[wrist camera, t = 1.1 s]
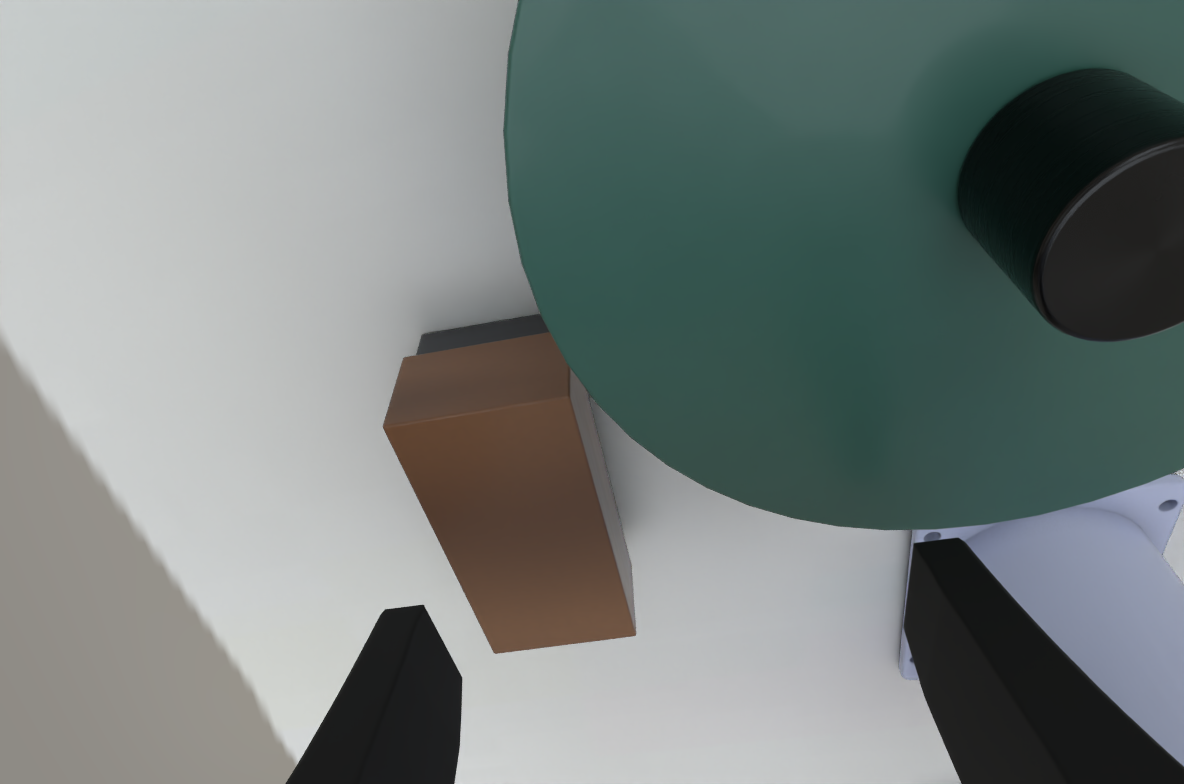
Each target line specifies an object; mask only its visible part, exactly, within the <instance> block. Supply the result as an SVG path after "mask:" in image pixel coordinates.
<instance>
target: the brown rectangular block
mask: <svg viewBox="0 0 1184 784" xmlns="http://www.w3.org/2000/svg"><path fill="white" fill-rule="evenodd" d="M383 429H384V431H385V433H386V435H387V437H388V439H389V441H390V443H391V445H392V447H393V449H394V451H395V453H396V455H397V457H398V459H399V461H400V463H401V465H402V467H403V469H404V471H405V473H406V475H407V477H408V479H409V481H410V483H411V485H412V488H413V490H414V492H415V494H416V496H417V498H418V500H419V502H420V504H421V506H422V508H423V510H424V512H425V514H426V516H427V518H428V520H429V522H430V524H431V526H432V528H433V530H434V532H435V534H436V536H437V538H438V540H439V542H440V544H441V546H442V548H443V550H444V552H445V555H446V557H447V559H448V561H449V563H450V565H451V567H452V569H453V571H454V573H455V575H456V577H457V579H458V581H459V583H460V585H461V587H462V589H463V591H464V593H465V595H466V597H467V599H468V601H469V603H470V605H471V607H472V609H473V611H474V613H475V615H476V617H477V619H478V622H479V624H480V626H481V628H482V630H483V632H484V634H485V636H486V638H487V640H488V642H489V644H490V646H491V648H492V650H493V652H494V653H495V654H498V653H505V652H513V651H521V650H529V649H537V648H545V647H553V646H560V645H568V644H576V643H584V642H592V641H600V640H608V639H615V638H623V637H631V636H636V622H635V607H634V593H633V579H632V564H631V560H630V556H629V552H628V549H627V545H626V541H625V537H624V533H623V529H622V525H621V521H620V518H619V514H618V510H617V506H616V502H615V498H614V494H613V491H612V487H611V483H610V479H609V475H608V471H607V467H606V463H605V460H604V456H603V452H602V448H601V444H600V440H599V436H598V433H597V429H596V425H595V421H594V417H593V413H592V409H591V405H590V402H589V398H588V394H587V390H586V388H585V387H584V386H583V384H582V383H581V382H580V380H579V379H578V378H577V376H576V375H575V374H574V372H573V371H572V370H571V368H570V367H569V366H568V364H567V363H566V361H565V359H564V357H563V356H562V354H561V352H560V350H559V348H558V346H557V344H556V343H555V341H554V339H553V337H552V335H551V333H550V332H549V330H548V328H547V326H546V324H545V322H544V320H543V319H542V317H541V314H537V315H532V316H526V317H520V318H515V319H509V320H503V321H498V322H492V323H486V324H481V325H475V326H469V327H464V328H458V329H452V330H447V331H441V332H435V333H430V334H424V335H422V336H421V339H420V343H419V347H418V350H417V354H416V355H415V356H409V357H404V358H403V360H402V364H401V367H400V370H399V374H398V377H397V380H396V384H395V387H394V391H393V394H392V397H391V401H390V404H389V407H388V411H387V414H386V417H385V421H384V424H383Z"/></svg>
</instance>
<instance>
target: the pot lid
mask: <svg viewBox="0 0 1184 784" xmlns="http://www.w3.org/2000/svg"><path fill="white" fill-rule="evenodd" d="M503 133H504V147H505V161H506V175H507V189H508V202H509V206H510V211H511V216H512V220H513V225H514V230H515V235H516V239H517V244H518V249H519V253H520V258H521V263H522V265H523V268H524V271H525V273H526V276H527V279H528V282H529V284H530V287H531V290H532V293H533V295H534V298H535V301H536V303H537V306H538V309H539V312H540V314H541V317H542V319H543V320H544V322H545V324H546V326H547V328H548V330H549V332H550V333H551V335H552V337H553V339H554V341H555V343H556V344H557V346H558V348H559V350H560V352H561V354H562V356H563V357H564V359H565V361H566V363H567V364H568V366H569V367H570V368H571V370H572V371H573V372H574V374H575V375H576V376H577V378H578V379H579V380H580V382H581V383H582V384H583V386H584V387H585V388H586V390H587V391H588V392H589V394H590V395H591V396H592V398H593V399H594V400H595V402H596V403H597V404H598V405H599V406H600V407H601V408H602V409H603V410H604V411H605V412H606V413H607V414H608V415H609V416H610V417H611V418H612V419H613V420H614V421H615V422H616V423H617V424H618V425H619V426H620V427H621V428H622V429H623V430H624V431H625V432H626V433H627V434H628V435H629V436H630V437H631V438H632V439H633V440H635V441H636V442H637V443H639V444H640V445H641V446H643V447H644V448H645V449H647V450H648V451H649V452H651V453H652V454H653V455H654V456H656V457H657V458H658V459H660V460H661V461H662V462H664V463H665V464H666V465H668V466H669V467H671V468H673V469H675V470H676V471H678V472H680V473H682V474H683V475H685V476H687V477H689V478H690V479H692V480H694V481H696V482H697V483H699V484H701V485H703V486H704V487H706V488H708V489H711V490H713V491H716V492H718V493H720V494H723V495H725V496H727V497H730V498H732V499H735V500H737V501H739V502H742V503H744V504H747V505H749V506H752V507H756V508H759V509H763V510H766V511H770V512H773V513H777V514H780V515H783V516H787V517H790V518H795V519H800V520H806V521H811V522H817V523H822V524H828V525H834V526H840V527H853V528H865V529H878V530H936V529H947V528H957V527H968V526H978V525H987V524H993V523H999V522H1004V521H1010V520H1016V519H1021V518H1027V517H1033V516H1038V515H1042V514H1046V513H1050V512H1054V511H1058V510H1062V509H1066V508H1070V507H1073V506H1077V505H1081V504H1085V503H1089V502H1093V501H1096V500H1099V499H1102V498H1105V497H1108V496H1111V495H1114V494H1117V493H1120V492H1123V491H1126V490H1129V489H1132V488H1135V487H1138V486H1141V485H1144V484H1147V483H1149V482H1152V481H1154V480H1157V479H1159V478H1162V477H1164V476H1166V475H1169V474H1171V473H1174V472H1176V471H1179V470H1181V469H1183V468H1184V0H518V4H517V9H516V15H515V20H514V25H513V30H512V36H511V41H510V46H509V51H508V64H507V80H506V96H505V113H504V129H503Z"/></svg>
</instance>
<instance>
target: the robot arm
mask: <svg viewBox="0 0 1184 784" xmlns="http://www.w3.org/2000/svg"><path fill="white" fill-rule="evenodd" d="M1183 504H1184V479H1183V478H1182V477H1181V476H1179V475H1166V476H1164V477H1162V478H1159V479H1157V480H1154V481H1152V482H1149V483H1147V484H1144V485H1141V486H1138V487H1135V488H1132V489H1129V490H1126V491H1123V492H1120V493H1117V494H1114V495H1111V496H1108V497H1105V498H1102V499H1099V500H1096V501H1093V502H1089V503H1085V504H1081V505H1077V506H1073V507H1070V508H1066V509H1062V510H1058V511H1054V512H1050V513H1046V514H1042V515H1038V516H1033V517H1027V518H1021V519H1016V520H1010V521H1004V522H999V523H993V524H987V525H978V526H968V527H957V528H947V529H936V530H912V538H911V548H910V558H909V568H908V578H907V589H906V599H905V609H904V619H903V629H902V639H901V649H900V659H899V669H900V672H901V675H902V677H903V678H905V679H908V680H918V679H919V681H920V684H921V687H922V690H923V693H924V696H925V699H926V701H927V704H928V706H929V709H930V711H931V713H932V716H933V718H934V720H935V723H936V725H937V728H938V730H939V732H940V735H941V737H942V739H943V742H944V744H945V746H946V749H947V751H948V753H949V756H950V758H951V760H952V763H953V765H954V767H955V770H956V772H957V774H958V776H959V779H960V781H961V783H962V784H1184V584H1183V583H1182V581H1181V580H1180V579H1179V577H1178V576H1177V575H1176V573H1175V572H1174V571H1173V569H1172V568H1171V567H1170V565H1169V564H1168V563H1167V561H1166V560H1165V559H1164V557H1163V556H1162V554H1163V552H1164V550H1165V547H1166V545H1167V542H1168V540H1169V538H1170V535H1171V533H1172V531H1173V528H1174V526H1175V523H1176V521H1177V519H1178V516H1179V514H1180V512H1181V509H1182V507H1183ZM461 705H462V676H461V674H460V673H459V671H458V669H457V667H456V665H455V663H454V661H453V659H452V658H451V656H450V654H449V652H448V650H447V648H446V646H445V644H444V642H443V641H442V639H441V637H440V635H439V633H438V631H437V629H436V627H435V625H434V624H433V622H432V620H431V618H430V616H429V614H428V612H427V610H426V609H425V607H424V605H417V606H409V607H401V608H393V609H385V610H384V611H383V613H382V614H381V615H380V617H379V619H378V621H377V623H376V624H375V626H374V628H373V630H372V632H371V634H370V636H369V638H368V640H367V642H366V643H365V645H364V647H363V649H362V651H361V653H360V655H359V657H358V658H357V660H356V662H355V664H354V666H353V668H352V670H351V672H350V673H349V675H348V677H347V679H346V681H345V683H344V684H343V686H342V688H341V690H340V692H339V693H338V695H337V697H336V699H335V701H334V702H333V704H332V706H331V708H330V710H329V711H328V713H327V715H326V716H325V718H324V720H323V722H322V723H321V725H320V727H319V729H318V730H317V732H316V734H315V735H314V737H313V739H312V741H311V742H310V744H309V746H308V748H307V749H306V751H305V753H304V754H303V756H302V758H301V759H300V761H299V763H298V764H297V766H296V768H295V769H294V771H293V773H292V774H291V776H290V778H289V779H288V781H287V782H286V784H454V782H455V775H456V769H457V762H458V755H459V747H460V729H461Z"/></svg>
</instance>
